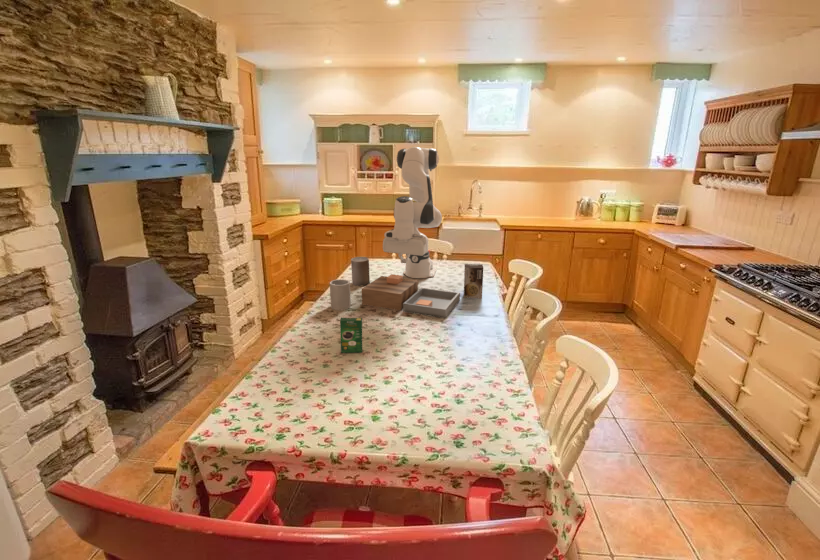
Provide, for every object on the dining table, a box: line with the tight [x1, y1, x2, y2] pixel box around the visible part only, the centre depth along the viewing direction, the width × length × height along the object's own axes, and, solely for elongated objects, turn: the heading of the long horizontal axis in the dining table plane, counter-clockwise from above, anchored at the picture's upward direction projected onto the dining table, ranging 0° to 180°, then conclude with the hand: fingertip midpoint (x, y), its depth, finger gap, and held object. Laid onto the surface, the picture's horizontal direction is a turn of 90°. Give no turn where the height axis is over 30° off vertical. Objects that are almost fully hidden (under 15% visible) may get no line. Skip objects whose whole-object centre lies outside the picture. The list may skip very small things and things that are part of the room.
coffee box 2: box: [463, 263, 484, 300], centre depth 210 cm, size 9×6×16 cm
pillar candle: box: [350, 256, 371, 287], centre depth 230 cm, size 10×10×15 cm
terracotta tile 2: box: [387, 274, 404, 284], centre depth 209 cm, size 6×6×2 cm
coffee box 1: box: [339, 317, 363, 354], centre depth 154 cm, size 8×3×13 cm, turn 93°
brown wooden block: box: [361, 275, 419, 311], centre depth 206 cm, size 22×20×8 cm
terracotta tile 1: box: [416, 299, 432, 307], centre depth 195 cm, size 6×6×2 cm
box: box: [402, 287, 461, 319], centre depth 199 cm, size 24×20×4 cm
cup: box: [329, 278, 352, 311], centre depth 197 cm, size 9×9×12 cm
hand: (404, 262), depth 196 cm, fingers closed
